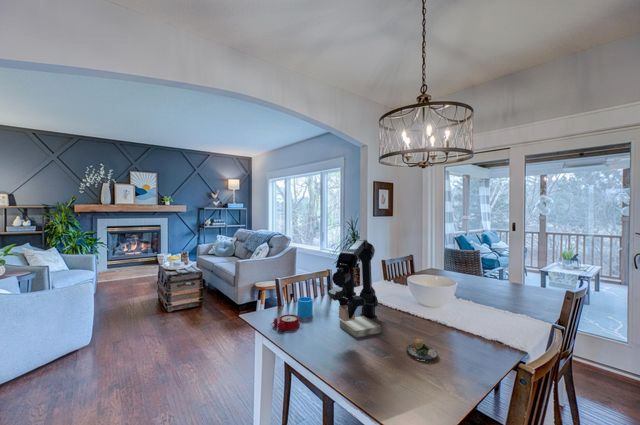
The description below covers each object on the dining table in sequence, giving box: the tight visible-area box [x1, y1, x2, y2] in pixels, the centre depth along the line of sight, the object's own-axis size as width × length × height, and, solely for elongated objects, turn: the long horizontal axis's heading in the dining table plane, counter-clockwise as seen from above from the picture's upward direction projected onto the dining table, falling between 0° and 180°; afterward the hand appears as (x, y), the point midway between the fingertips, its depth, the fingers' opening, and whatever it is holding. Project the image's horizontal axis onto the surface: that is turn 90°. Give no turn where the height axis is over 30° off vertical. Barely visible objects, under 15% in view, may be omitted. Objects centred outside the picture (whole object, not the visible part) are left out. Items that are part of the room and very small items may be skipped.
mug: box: [296, 296, 314, 318], centre depth 158 cm, size 12×8×8 cm
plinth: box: [339, 315, 382, 339], centre depth 139 cm, size 14×14×3 cm
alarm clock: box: [270, 314, 302, 332], centre depth 140 cm, size 10×6×15 cm
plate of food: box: [405, 336, 439, 361], centre depth 116 cm, size 12×12×8 cm
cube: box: [338, 305, 356, 322], centre depth 126 cm, size 5×5×5 cm
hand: (346, 316), depth 126 cm, fingers closed on cube, 5 cm apart
